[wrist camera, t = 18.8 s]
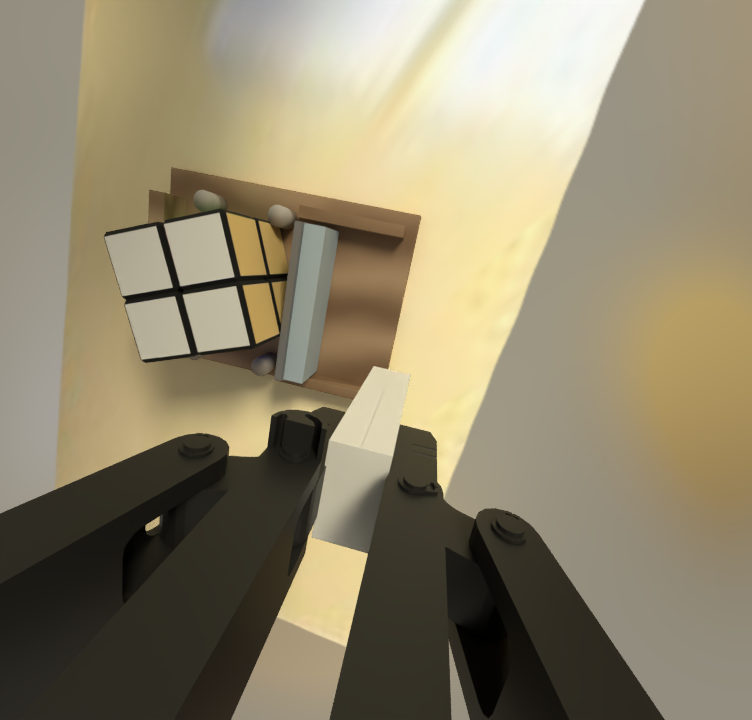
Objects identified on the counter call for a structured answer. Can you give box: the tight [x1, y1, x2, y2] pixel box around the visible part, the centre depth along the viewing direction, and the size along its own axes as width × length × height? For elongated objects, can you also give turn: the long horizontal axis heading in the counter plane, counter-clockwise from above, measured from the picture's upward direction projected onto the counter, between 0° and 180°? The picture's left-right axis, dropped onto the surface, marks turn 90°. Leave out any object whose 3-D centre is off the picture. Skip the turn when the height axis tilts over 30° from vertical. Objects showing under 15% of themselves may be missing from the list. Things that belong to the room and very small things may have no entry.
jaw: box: [274, 221, 339, 384], centre depth 34 cm, size 14×2×5 cm, turn 169°
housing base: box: [148, 168, 421, 399], centre depth 36 cm, size 18×24×4 cm
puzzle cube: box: [104, 208, 288, 363], centre depth 32 cm, size 10×10×10 cm
